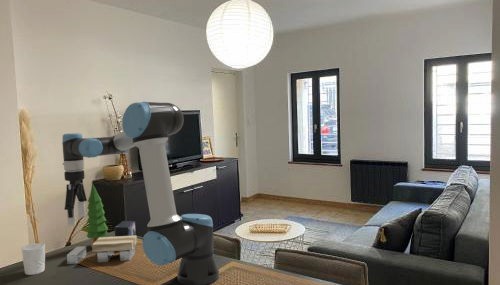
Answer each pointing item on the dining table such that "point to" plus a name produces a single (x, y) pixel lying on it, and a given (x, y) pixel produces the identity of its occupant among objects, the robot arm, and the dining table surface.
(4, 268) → the dining table surface
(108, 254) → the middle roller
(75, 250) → the grey marble block
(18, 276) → the dining table surface
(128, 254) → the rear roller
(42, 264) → the white cup
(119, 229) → the small box
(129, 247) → the oak slab
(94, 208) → the decorative tree
